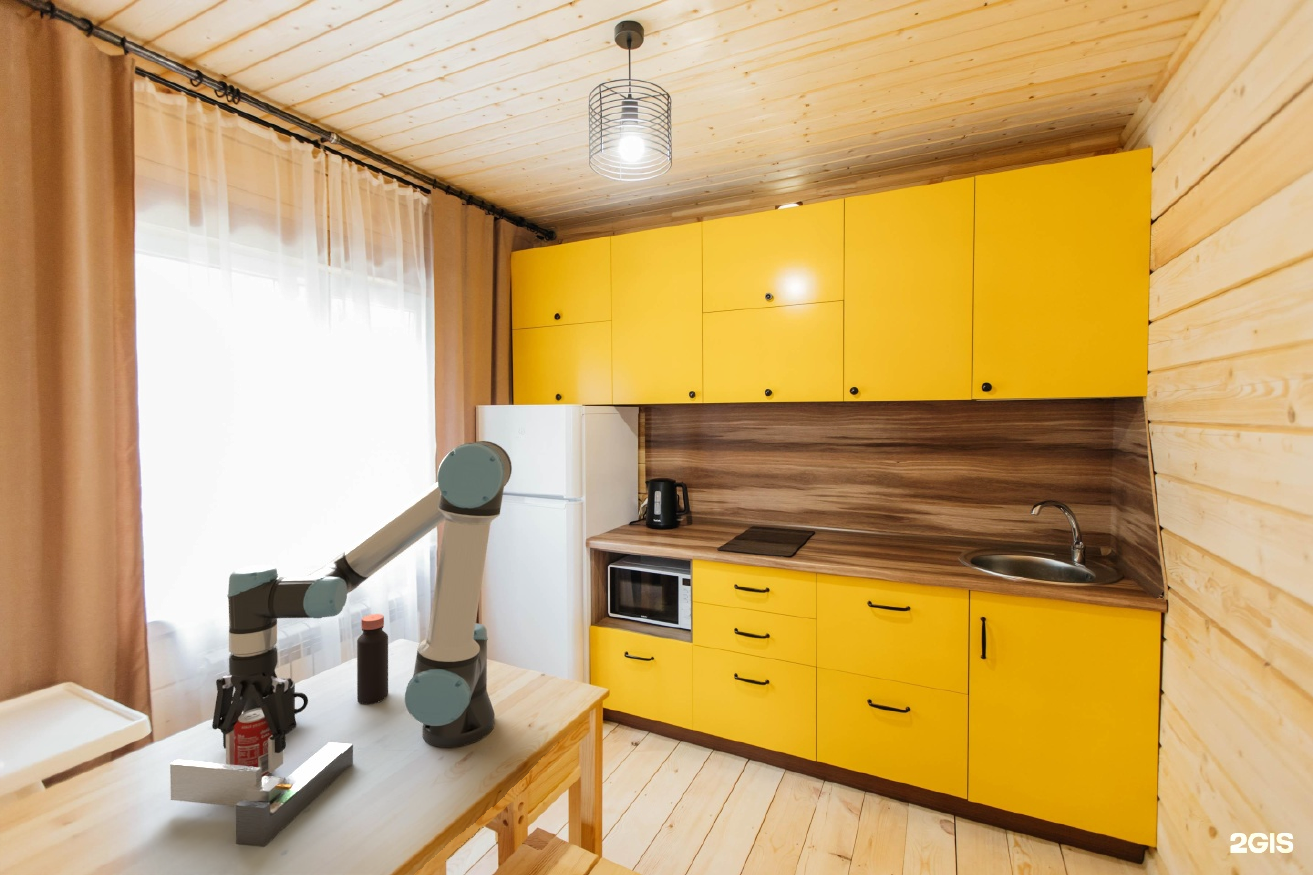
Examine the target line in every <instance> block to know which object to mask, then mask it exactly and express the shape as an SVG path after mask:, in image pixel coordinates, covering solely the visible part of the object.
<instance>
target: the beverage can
mask: <svg viewBox="0 0 1313 875" xmlns="http://www.w3.org/2000/svg"><path fill="white" fill-rule="evenodd" d="M271 736H272V733H271V731H270V728H269V726H268V724H267V721H266V719H265V716H264V714H263V711H262V709H261V708H256V709H252V710H249V711H247V712H245V713H243V712H242V714H241V715H240V716H239V718H238V721H237V723H236V724H235V726H234V765H240V766H251V767H262V777H263V776H270V775H269V774H270V773H271V772H268V738H269V737H271Z"/></svg>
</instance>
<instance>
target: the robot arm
mask: <svg viewBox="0 0 1313 875" xmlns="http://www.w3.org/2000/svg"><path fill="white" fill-rule="evenodd" d="M512 469H513V467H512V461H511V458H510V455H509V454H508V452H507V451H506V450H505V449H504V448H503V447H502V446H501V445H500V444H497V443H496V442H492V441H489V440H488V441H486V440H484V441H483V440H481V441H475V442H467V443H464V444H459V445H458V446H456V447H454V448H453V449H451V450H450V452H448V454H446V456H444V458H443V459H442V461H441V463H440V464H439V467H438V470H437V477H436V479H437V480H436V481H437V482H435V483H434V484H433V485H431V486H430V487H429V488H428V489H426V490H424V491H423V492H422V493H421V494H420V495H417V497H415V498H414V499H413V500H412V501H410V502H409V503H408V504H406V505H405V506H404V507H402V508H401V509H400V510H398V511H397V512H396V513H395V514H393V515H392V516H390V517H389V518H388V519H386V520H385V521H384V522H382V523H381V524H380V525H379V526H377V527H376V528H375V529H373V530H372V531H371V532H369V533H368V534H366V535H365V536H364V537H363V538H361V539H360V540H358V541H357V542H355V543H354V544H353V545H351V546H350V547H349V548H348V549H346V550H345V551H344V552H342V553H341V554H340V555H338V556H337V557H336V558H334V559H333V560H331V561H330V562H329V563H327V564H325V565H324V566H322V567H321V568H318V569H317V570H315V571H313V572H312V573H310V574H308V575H306V576H303V577H300V576H299V577H279V574H278V571H277V568H276V567H275V566H274V565H267V564H266V565H265V564H260V565H250V566H246V567H242V568H239V569H236V570H234V571H233V572H232V573H230V575H229V578H228V591H227V592H228V593H227V594H226V595H227V596H226V597H227V599H228V623H229V624H228V625H229V626H228V652H229V653H230V654H229V655H228V671H229V672H228V673H227V674H226V675H224V676H221V677H220V678H218V679H216V681H215V685H216V690H217V693H216V699H215V705H214V712H213V719H212V724H211V726H212V729H213V730H217V729H218V730H220V732H221V733H222V746H223V748H224V749H225V764H229V765H234V726H235V724H236V723H237V721H238V718H239V716H240V715H241V714H243V710H244V707H245V705H246V702H247V700H248V699H249V698H250V699H253V700H255V701H256V703H257V705H260V706H261V709H262V711H263V714H264V716H265V719H266V721H267V724H268V726H269V728H270V731H271V733H272V736H271V737H269V738H268V772H270V773H273V772H275V771H276V770H277V769H278V768H280V766H282V765H283V764H284V750H285V749H286V748H287V734H289V733H290V732H292V731H293V730H294V729H296V728H297V721H296V720H297V719H296V714H294V708H293V702H292V697H291V691H290V689H291V682H292V680H293V679H292V678H290V677H286V678H279V677H278V675H277V674H276V667H277V665H278V662H279V661H278V646H277V643H278V619H322V618H330V617H336V616H337V615H339V614H340V613H341V612H343V609H344V607H345V605H346V603H347V597H348V594H349V593H350V592H353V591H354V590H355V589H357V588H358V587H359V586H360V585H361V584H363V583H364V582H365V581H367V580H368V579H369V578H370V577H371V576H373V575H374V574H375V573H376V572H378V571H379V570H381V569H382V568H383V567H385V566H386V565H387V564H389V563H390V562H392V561H393V560H394V559H395V558H396V557H398V556H399V555H401V554H402V553H403V552H405V551H406V550H407V549H409V548H410V547H411V546H413V545H414V544H416V543H417V542H418V541H419V540H421V539H422V538H423V537H424V536H427V535H428V534H429V533H430V532H431V531H432V530H434V529H435V528H437V527H439V525H441V524H442V523H444V524H443V532H442V539H441V545H440V553H439V557H438V558H439V559H438V564H437V565H438V566H437V571H436V572H437V573H436V580H435V585H434V593H433V598H432V605H431V613H430V620H429V626H428V631H427V632H428V634H427V637H426V638H424V639H423V640H422V641H421V642H420V643H419V644H418V645H417V650H416V651H417V652H416V656H415V657H416V658H415V662H414V663H415V664H414V671H413V674H412V675H413V676H412V677H411V679H410V680H409V682H408V683H407V686H406V689H405V692H404V703H405V707H406V709H407V712H409V714H410V715H411V716H412V717H413V718H414V719H415V720H416V721H417V722H420V723H421V724H422V739H424V741H425V743H427V744H429V745H431V746H435V747H439V748H457V747H462V746H463V747H464V746H468V745H471V744H473V743H474V744H475V743H476V742H478V741H480V740H482V739H484V738H485V737H487V735H490V733H491V732H492V731H493V729H494V727H495V725H496V724H495V720H496V719H495V710H494V707H493V705H492V701H491V699H490V695H489V693H488V689H487V687H488V686H487V685H488V684H487V683H488V681H487V680H488V679H487V677H488V676H487V675H488V672H487V667H488V664H487V663H488V660H487V659H488V640H489V638H488V636H487V635H488V632H487V628H486V626H485V625H483V624H482V623H477V618H478V611H479V610H478V609H479V603H480V597H481V591H482V590H481V588H482V584H483V575H484V570H485V562H486V557H487V549H488V543H489V536H490V529H491V524H492V521H493V520H495V519H496V518H498V517H499V516H500V514H501V508H502V502H503V497H504V490H505V487H506V485H507V484H508V483H509V481H510V478H511V476H512ZM283 679H285V680H283ZM274 688H275V689H274ZM267 694H268V696H266V697H265V698H263V697H264V696H265V695H267ZM278 728H279V729H278Z"/></svg>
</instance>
